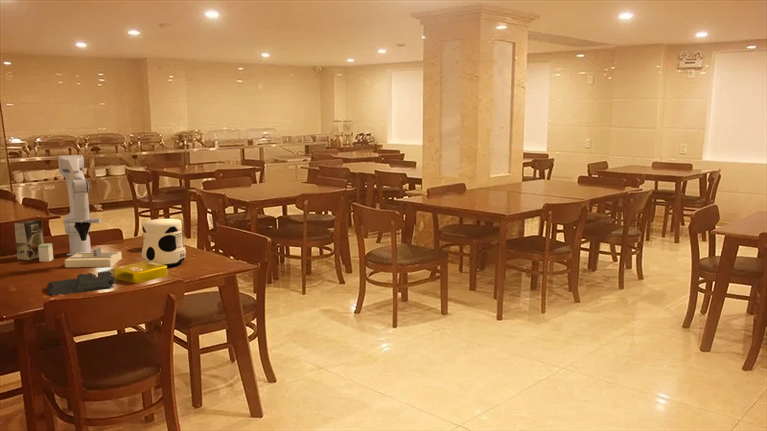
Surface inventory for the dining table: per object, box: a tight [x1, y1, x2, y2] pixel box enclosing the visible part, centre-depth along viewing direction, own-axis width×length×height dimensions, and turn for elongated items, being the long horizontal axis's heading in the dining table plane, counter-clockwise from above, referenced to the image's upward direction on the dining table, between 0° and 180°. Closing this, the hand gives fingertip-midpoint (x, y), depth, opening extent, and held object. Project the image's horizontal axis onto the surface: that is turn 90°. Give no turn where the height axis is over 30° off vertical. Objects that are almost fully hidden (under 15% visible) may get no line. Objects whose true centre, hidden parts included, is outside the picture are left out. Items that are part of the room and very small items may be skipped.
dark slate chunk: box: [46, 270, 115, 296], centre depth 226 cm, size 15×22×5 cm
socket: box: [64, 251, 123, 268], centre depth 262 cm, size 14×18×4 cm
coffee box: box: [13, 219, 44, 261], centre depth 270 cm, size 9×6×16 cm
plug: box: [38, 242, 54, 263], centre depth 266 cm, size 4×4×7 cm
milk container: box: [141, 218, 187, 267], centre depth 259 cm, size 17×17×18 cm
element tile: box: [113, 260, 169, 284], centre depth 241 cm, size 15×15×5 cm
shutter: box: [92, 247, 115, 257], centre depth 262 cm, size 6×6×3 cm
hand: (83, 240), depth 260 cm, fingers closed
